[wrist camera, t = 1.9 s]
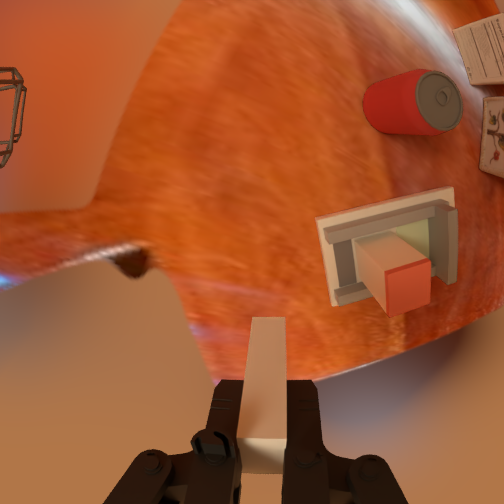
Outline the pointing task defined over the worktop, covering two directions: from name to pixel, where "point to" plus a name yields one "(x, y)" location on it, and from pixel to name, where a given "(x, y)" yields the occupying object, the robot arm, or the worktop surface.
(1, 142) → the geometric lantern
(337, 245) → the grey tray
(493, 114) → the decorative jar
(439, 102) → the beer can
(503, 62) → the supplement box
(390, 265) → the block
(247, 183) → the worktop surface
